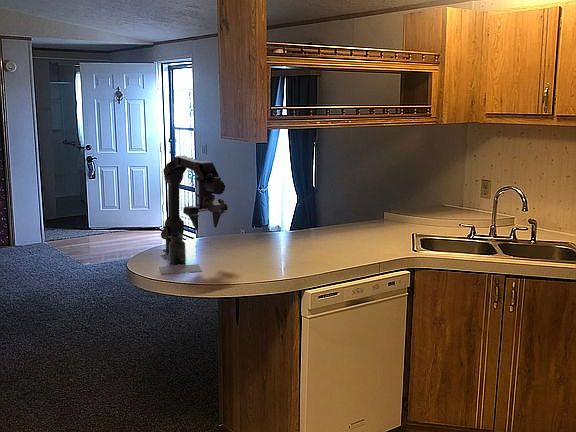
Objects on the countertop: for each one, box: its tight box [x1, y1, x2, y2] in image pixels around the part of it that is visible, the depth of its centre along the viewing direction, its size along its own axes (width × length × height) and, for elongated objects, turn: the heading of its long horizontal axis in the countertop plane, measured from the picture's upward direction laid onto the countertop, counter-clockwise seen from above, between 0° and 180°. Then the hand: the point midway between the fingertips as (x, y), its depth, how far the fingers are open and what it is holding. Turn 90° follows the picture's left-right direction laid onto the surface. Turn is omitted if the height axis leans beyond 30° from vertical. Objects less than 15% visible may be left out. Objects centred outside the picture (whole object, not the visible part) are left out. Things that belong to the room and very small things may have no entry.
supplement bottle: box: [168, 234, 187, 266], centre depth 265 cm, size 7×7×12 cm
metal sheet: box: [159, 263, 203, 275], centre depth 255 cm, size 11×16×1 cm
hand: (206, 228), depth 263 cm, fingers open, 9 cm apart
